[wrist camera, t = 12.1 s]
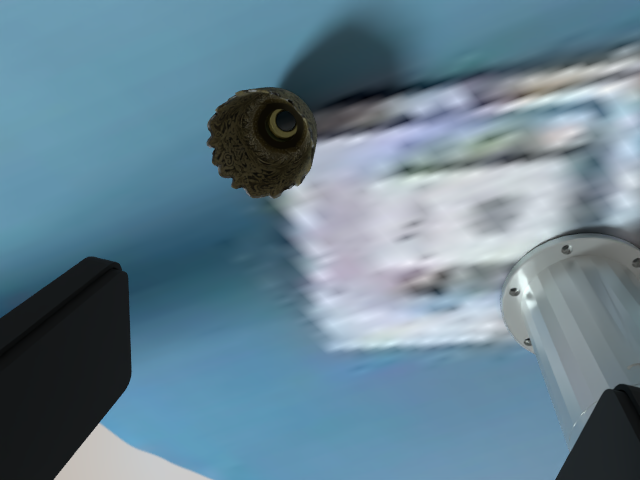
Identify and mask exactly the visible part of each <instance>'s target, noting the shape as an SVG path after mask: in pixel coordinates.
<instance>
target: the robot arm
mask: <svg viewBox="0 0 640 480" xmlns="http://www.w3.org/2000/svg"><path fill="white" fill-rule="evenodd" d="M565 245H567V246H566V247H563V246H565ZM512 288H513V289H512ZM500 303H501V312H502V316H503V320H504V323H505V325H506V327H507V329H508V331H509V333H510V334H511V335H512V337H513V338H514V339H515V341H516V342H518V343H519V344H520V345H521V346H522V347H523V348H525V349H526V350H528V351H530V352H532V353H533V354H535V355H536V358H537V361H538V363H539V366H540V369H541V372H542V375H543V378H544V380H545V383H546V386H547V389H548V392H549V395H550V397H551V400H552V403H553V406H554V409H555V412H556V414H557V417H558V420H559V423H560V426H561V429H562V432H563V434H564V437H565V440H566V443H567V446H568V449H569V451H570V454H569V455H568V457H567V459H566V461H565V463H564V465H563V467H562V468H561V470H560V472H559V474H558V476H557V478H556V479H555V480H640V249H639V248H637V247H636V246H634V245H632V244H631V243H629V242H628V241H625V240H622V239H619V238H617V237H614V236H609V235H603V234H595V233H581V234H574V235H567V236H563V237H560V238H557V239H553V240H550V241H548V242H546V243H544V244H542V245H540V246H538V247H536V248H535V249H533V250H532V251H530V252H529V253H528V254H526V255H525V256H524V257H523V258H522V259H521V260H520V261H519V262H518V263H517V264H516V265H515V266H514V267H513V268H512V270H511V271H510V273H509V274H508V276H507V278H506V280H505V282H504V285H503V287H502V292H501V298H500ZM130 378H131V344H130V315H129V287H128V275H127V273H126V272H124V271H122V268H121V266H120V264H119V263H117V262H113V261H109V260H105V259H101V258H97V257H87V258H85V259H84V260H82V261H81V262H79V263H78V264H77V265H75V266H74V267H72V268H71V269H69V270H68V271H67V272H65V273H64V274H62V275H61V276H60V277H58V278H57V279H55V280H54V281H53V282H51V283H50V284H48V285H47V286H45V287H44V288H43V289H41V290H40V291H38V292H37V293H36V294H34V295H33V296H31V297H30V298H29V299H27V300H26V301H24V302H23V303H21V304H20V305H19V306H17V307H16V308H14V309H13V310H12V311H10V312H9V313H7V314H6V315H5V316H3V317H2V318H0V480H54V478H55V477H56V476H57V475H58V473H59V472H60V471H61V469H62V468H63V467H64V466H65V465H66V463H67V462H68V461H69V460H70V458H71V457H72V456H73V455H74V453H75V452H76V451H77V449H78V448H79V447H80V446H81V445H82V443H83V442H84V441H85V440H86V438H87V437H88V436H89V435H90V433H91V432H92V431H93V430H94V429H95V427H96V426H97V425H98V424H99V422H100V421H101V420H102V419H103V417H104V416H105V415H106V414H107V412H108V411H109V410H110V409H111V407H112V406H113V405H114V404H115V402H116V401H117V400H118V399H119V397H120V396H121V395H122V394H123V392H124V391H125V390H126V388H127V386H128V384H129V382H130Z"/></svg>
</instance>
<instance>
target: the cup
mask: <svg viewBox="0 0 640 480" xmlns="http://www.w3.org/2000/svg"><path fill="white" fill-rule="evenodd" d="M235 94H236V95H234V96H233V97H231V98H229V99H228V101H227V102H225V103H223V104H222V105H220V106H219V107H217V109H216V110H215V111H216V113H215V114H214V115H213V116H212V118H211V119H210V120H209V121H208V125H207V127H208V130H209V131H210V132H211V137H210V138H209V139H208V141H207V146H209V147H210V148H211V147H212V148H215V149H214V151H213V153H212V154H213V158H212V163H213V165H215V166H217V167H218V171H219V175H220V176H221V177H223V178H233V182H232V184H231V187H232V188H234V189H238V188H241V187H242V188H243V189H245V190H246V193H247V194H248V195H249V196H250V197H252V198H262V197H266V196H270V198H277V197H279V196H280V195H281V193H282V192H283V191H284V190H287V189H290V188H292V187H293V186H294V185H295V186H299V185H300V184H301V183H302V181H303V180H304V178H305V176H306V175H307V174H308V172H309V171H310V169H311V166H312V162H313V157H314V153H315V148H316V142H317V128H316V122H315V119H314V116H313V114H312V112H311V110H310V109H309V107H308V106H307V104H306V103H305V102H304V101H303V100H302V99H301V98H299V97H298V96H297V95H295V94H294V93H292V92H290V91H287V90H285V89H281V88H274V87H265V88H257V89H249V90H242V91H239V92H236V93H235ZM283 111H288V112H290V113H291V114H292V115H293V116H294V118H295V120H296V124H295V127H294V128H293V129H292V130H290V131H283V130H281V129H280V128H279V127H278V126H277V123H276V118H277V115H278V114H279V113H280V112H283Z"/></svg>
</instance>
